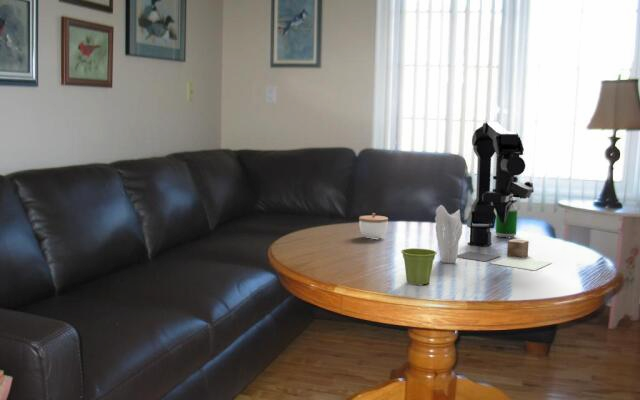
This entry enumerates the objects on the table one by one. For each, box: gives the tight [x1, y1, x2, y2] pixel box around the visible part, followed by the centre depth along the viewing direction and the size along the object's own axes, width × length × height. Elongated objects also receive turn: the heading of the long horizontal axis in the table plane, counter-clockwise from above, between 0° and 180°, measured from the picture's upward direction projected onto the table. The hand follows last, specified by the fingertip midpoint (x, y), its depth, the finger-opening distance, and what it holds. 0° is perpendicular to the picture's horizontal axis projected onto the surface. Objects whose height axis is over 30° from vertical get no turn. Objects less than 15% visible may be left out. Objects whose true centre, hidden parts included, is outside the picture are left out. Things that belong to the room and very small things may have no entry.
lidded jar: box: [358, 212, 389, 238], centre depth 246 cm, size 11×11×9 cm
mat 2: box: [490, 256, 553, 272], centre depth 206 cm, size 14×14×1 cm
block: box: [506, 238, 530, 258], centre depth 218 cm, size 5×5×5 cm
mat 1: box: [457, 250, 501, 263], centre depth 215 cm, size 11×11×1 cm
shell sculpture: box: [434, 204, 463, 264], centre depth 205 cm, size 8×8×18 cm
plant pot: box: [400, 247, 437, 286], centre depth 179 cm, size 9×9×9 cm
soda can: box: [495, 204, 518, 239], centre depth 252 cm, size 8×8×12 cm
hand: (502, 222), depth 208 cm, fingers closed
